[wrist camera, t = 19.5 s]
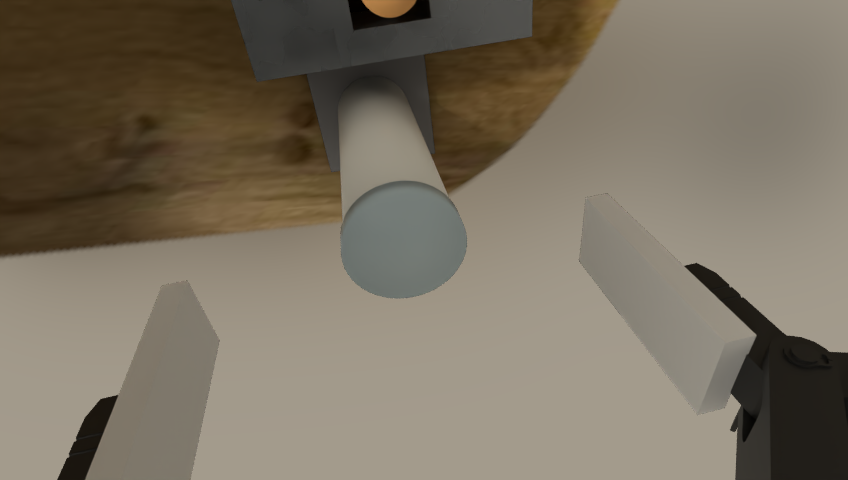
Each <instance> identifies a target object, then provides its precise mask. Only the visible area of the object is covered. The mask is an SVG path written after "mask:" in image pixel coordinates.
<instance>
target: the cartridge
mask: <svg viewBox="0 0 848 480" xmlns="http://www.w3.org/2000/svg"><path fill="white" fill-rule="evenodd" d="M338 124H339V148H340V172H341V196H342V219H343V223H342V226H341V233H340V234H341V257H342V262H343V265H344V268H345V270H346V272H347V273H348V275H349V276H350V278H351V279H352V280H353V281H354V282H355V283H356V284H357V285H359V286H360V287H361V288H363V289H364V290H366V291H368V292H370V293H372V294H375V295H378V296H382V297H387V298H409V297H414V296H419V295H422V294H425V293H428V292H430V291H432V290H434V289H436V288H437V287H439V286H441V285H442V284H444V283H445V282H446V281H448V280H449V279H450V278H451V277H452V276H453V275H454V273H455V272H456V271H457V269H458V268H459V266H460V265H461V263H462V261H463V259H464V256H465V253H466V247H467V236H466V231H465V228H464V225H463V222H462V220H461V218H460V215H459V213H458V211H457V209H456V207H455V205H454V204H453V202H452V201H451V200H450V199H449V197H448V194H447V192H446V190H445V187H444V185H443V183H442V180H441V178H440V176H439V173H438V171H437V169H436V166H435V164H434V161H433V159H432V157H431V154H430V152H429V150H428V147H427V145H426V143H425V140H424V138H423V136H422V133H421V131H420V129H419V126H418V124H417V122H416V119H415V117H414V115H413V112H412V110H411V108H410V105H409V103H408V101H407V98H406V96H405V94H404V92H403V91H402V90H401V88H400V87H399V86H398V85H396V84H395V83H394V82H392V81H391V80H389V79H387V78H383V77H379V76H367V77H363V78H360V79H358V80H356V81H354V82H353V83H351V84H350V85H349V86H348V87H347V88H346V89H345V91H344V92H343V94H342V95H341V98H340V100H339V104H338Z"/></svg>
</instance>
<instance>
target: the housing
mask: <svg viewBox="0 0 848 480" xmlns="http://www.w3.org/2000/svg"><path fill="white" fill-rule="evenodd" d="M231 2H232V5H233V8H234V11H235V14H236V18H237V21H238V24H239V27H240V30H241V33H242V37H243V40H244V43H245V46H246V49H247V52H248V55H249V59H250V62H251V65H252V68H253V71H254V74H255V78H256V81H257V82H259V81H265V80H271V79H278V78H284V77H290V76H296V75H302V74H308V73H314V72H320V71H326V70H332V69H338V68H344V67H350V66H356V65H362V64H368V63H374V62H380V61H387V60H393V59H399V58H405V57H411V56H417V55H423V54H429V53H435V52H441V51H447V50H453V49H459V48H465V47H471V46H477V45H483V44H489V43H496V42H502V41H508V40H514V39H520V38H526V37H532V4H533V0H416V2H415V4H414V5H413V6H412V8H411V9H410V10H409V11H407V12H406V13H404V14H403V15H400V16H398V17H393V18H386V17H381V16H379V15H376V14H375V13H373V12H372V11H370V10H369V11H363V12H356V13H350V10H349V4H348V0H231Z"/></svg>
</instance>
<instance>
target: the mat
mask: <svg viewBox="0 0 848 480" xmlns="http://www.w3.org/2000/svg"><path fill="white" fill-rule="evenodd" d="M367 76H379V77H383V78H387V79H389V80H391V81H392V82H394V83H395V84H396V85H398V86H399V87H400V88H401V90H402V91H403V92H404V94H405V96H406V98H407V101H408V103H409V105H410V108H411V110H412V112H413V115H414V117H415V119H416V122H417V124H418V126H419V129H420V131H421V133H422V136H423V138H424V140H425V143H426V145H427V147H428V150H429V152H430V154H434V153H435V148H434V139H433V130H432V121H431V112H430V103H429V94H428V85H427V76H426V67H425V58H424V54H423V55H417V56H411V57H405V58H399V59H393V60H387V61H380V62H374V63H368V64H362V65H356V66H350V67H344V68H338V69H332V70H326V71H320V72H314V73H308V74H307V78H308V82H309V86H310V90H311V94H312V98H313V102H314V106H315V110H316V114H317V118H318V122H319V125H320V129H321V133H322V137H323V141H324V145H325V149H326V153H327V157H328V161H329V165H330V169H331V172H335V171H340V148H339V124H338V104H339V100H340V98H341V95H342V94H343V92H344V91H345V89H346V88H347V87H348V86H349V85H350V84H351V83H353V82H354V81H356V80H358V79H360V78H363V77H367Z"/></svg>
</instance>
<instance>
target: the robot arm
mask: <svg viewBox="0 0 848 480" xmlns="http://www.w3.org/2000/svg"><path fill="white" fill-rule="evenodd" d="M579 262H580V263H581V264H582V265H583V267H584V268H585V269H586V271H587V272H588V273H589V275H590V276H591V277H592V279H593V280H594V281H595V282H596V284H597V285H598V286H599V288H600V289H601V290H602V292H603V293H604V294H605V296H606V297H607V298H608V299H609V301H610V302H611V303H612V304H613V306H614V307H615V309H616V310H617V311H618V312H619V314H620V315H621V316H622V318H623V319H624V320H625V322H626V323H627V324H628V325H629V327H630V328H631V329H632V331H633V332H634V333H635V334H636V336H637V337H638V338H639V340H640V341H641V342H642V344H643V345H644V346H645V347H646V349H647V350H648V351H649V353H650V354H651V355H652V357H653V358H654V359H655V361H656V362H657V363H658V364H659V366H660V367H661V368H662V370H663V371H664V372H665V374H666V375H667V376H668V378H669V379H670V380H671V381H672V383H673V384H674V385H675V387H676V388H677V389H678V391H679V392H680V393H681V394H682V395H683V397H684V398H685V400H686V401H687V402H688V404H689V405H690V406H691V407H692V409H693V410H694V411H695V412H696V414H697V415H699V414H704V413H707V412H711V411H715V410H719V409H722V408H725V406H726V404H727V402H728V399H729V397H730V395H731V394H732V395H733V396H734V397H735V398H736V400H738V402H739V403H740V404H741V407H740V409H739V411H738V413H737V415H736V417H735V419H734V422H733V424H732V426H731V429H730V430H731V431H733V432H735V431H736V429H737V427H738V430H737V453H736V478H735V479H736V480H848V353H841V352H840V353H839V352H829V351H828V350H827V349H825V348H823V347H822V346H820V345H819V344H817V343H815V342H813V341H810V340H807V339H805V338H802V337H795V336H786V335H785V334H784V333H782V331H780V330H779V329H778V328H777V327H776V326H775V325H774V324H773V323H771V322H770V321H769V320H768V319H767V318H766V317H765V316H764V315H762V314H761V313H760V312H759V311H758V310H757V309H756V308H754V307H753V306H752V305H751V304H750V303H749V302H748V301H747V300H746V299H744V298H741V296H740V294H739V293H738V292H737V291H736V290H734V289H733V288H732V287H731V288H730V287H729V284H728V283H727V282H725V281H724V280H723V279H722V278H721V277H720V276H719V275H718V274H717V273H715V272H713V271H711V270H709V269H707V268H705V267H703V266H701V265H699V264H697V263H695V264H690V265H686V266H683V265H682V264H681V263H680V262H679V261H678V260H677V259H676V258H675V257H674V256H673V255H672V254H671V253H670V252H669V251H668V250H666V249H665V248H664V247H663V246H662V245H661V244H660V243H659V242H658V241H657V240H656V239H655V238H654V237H653V236H652V235H651V234H650V233H649V232H648V231H646V230H645V229H644V228H643V227H642V226H641V225H640V224H639V223H638V222H637V221H636V220H635V219H634V218H633V217H632V216H631V215H630V214H629V213H628V212H626V211H625V210H624V209H623V208H622V207H621V206H620V205H619V204H618V203H617V202H616V201H615V200H614V199H613V198H612V197H611V196H610V195H609V194H608V193H605V194H601V195H596V196H591V197H586V200H585V210H584V220H583V229H582V239H581V248H580V258H579ZM219 341H220V340H219V338H218V336H217V334H216V333H215V331H214V329H213V327H212V325H211V324H210V321H209V320H208V318H207V316H206V314H205V312H204V310H203V309H202V307H201V305H200V303H199V301H198V299H197V297H196V296H195V294H194V292H193V290H192V288H191V286H190V284H189V283H188V281H187V280H186V281H181V282H176V283H172V284H166V285H162V287H161V289H160V292H159V294H158V297H157V299H156V302H155V304H154V307H153V310H152V312H151V314H150V317H149V319H148V322H147V324H146V327H145V329H144V332H143V335H142V337H141V340H140V342H139V345H138V347H137V350H136V353H135V355H134V357H133V360H132V362H131V365H130V367H129V370H128V372H127V375H126V378H125V380H124V383H123V385H122V388H121V390H120V393H119V395H116V396H112V397H108V398H103V399H100V401H99V402H98V403H97V404H96V405H95V407H94V408H93V409H92V410H91V411H90V412H89V414H88V415H87V416H86V417H85V419H84V421H83V423H82V425H81V428H80V430H79V432H78V434H77V437H76V442H74V443H73V446H72V448H71V450H70V453H69V458H67V459H66V461H65V464H64V466H63V469H62V470H61V473H60V475H59V477H58V479H57V480H190V479H191V474H192V469H193V465H194V460H195V455H196V450H197V446H198V441H199V436H200V432H201V427H202V422H203V417H204V413H205V408H206V403H207V398H208V393H209V389H210V384H211V379H212V375H213V370H214V364H215V360H216V355H217V351H218V346H219Z"/></svg>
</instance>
